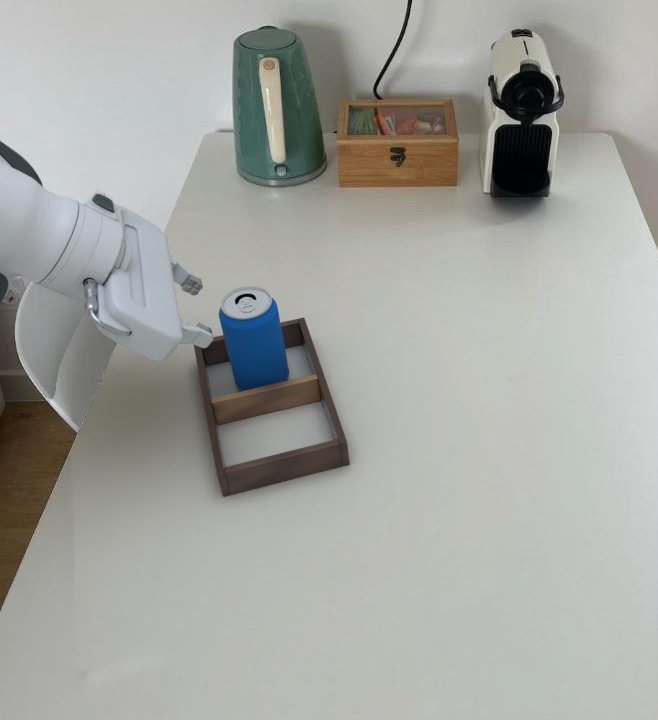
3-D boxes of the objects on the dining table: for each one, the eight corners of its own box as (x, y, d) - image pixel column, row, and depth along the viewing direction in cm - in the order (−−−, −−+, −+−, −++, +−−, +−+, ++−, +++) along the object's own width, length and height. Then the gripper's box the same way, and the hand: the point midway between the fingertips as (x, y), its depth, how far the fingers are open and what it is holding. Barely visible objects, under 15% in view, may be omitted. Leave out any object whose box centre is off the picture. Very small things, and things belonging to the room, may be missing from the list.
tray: (223, 497, 84) (216, 474, 82) (199, 363, 99) (193, 341, 97) (349, 464, 87) (347, 442, 84) (307, 339, 102) (304, 317, 100)
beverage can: (283, 356, 100) (269, 278, 92) (295, 391, 95) (281, 312, 87) (231, 369, 98) (212, 291, 90) (240, 405, 94) (221, 326, 86)
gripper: (104, 294, 71) (235, 353, 79) (98, 181, 85) (209, 241, 94) (67, 343, 73) (198, 396, 81) (67, 225, 87) (179, 280, 96)
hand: (204, 312), depth 88 cm, fingers open, 8 cm apart
